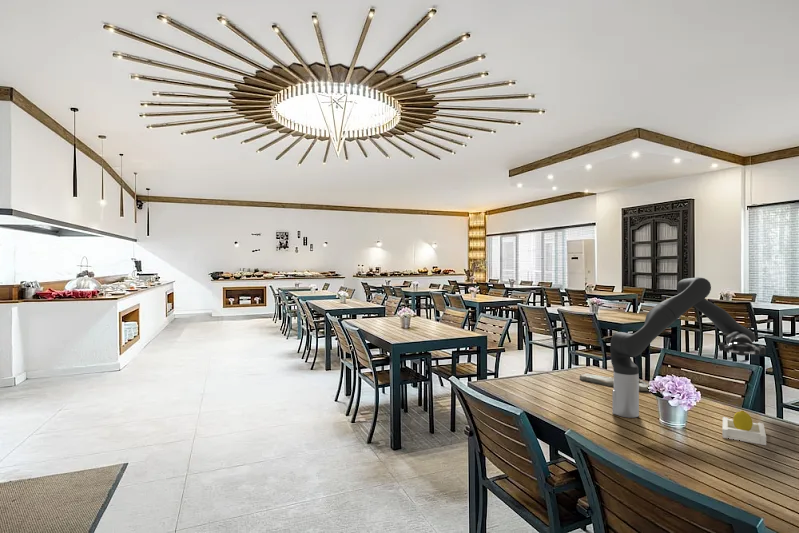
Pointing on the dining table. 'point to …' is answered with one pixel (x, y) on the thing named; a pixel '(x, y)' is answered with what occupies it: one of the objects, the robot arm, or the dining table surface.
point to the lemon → (742, 421)
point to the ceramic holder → (744, 432)
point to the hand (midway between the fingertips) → (742, 351)
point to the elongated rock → (608, 381)
